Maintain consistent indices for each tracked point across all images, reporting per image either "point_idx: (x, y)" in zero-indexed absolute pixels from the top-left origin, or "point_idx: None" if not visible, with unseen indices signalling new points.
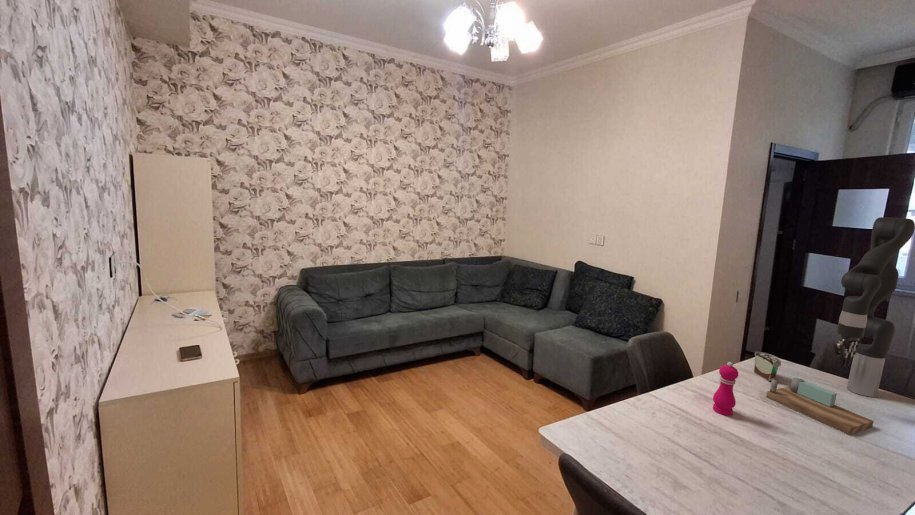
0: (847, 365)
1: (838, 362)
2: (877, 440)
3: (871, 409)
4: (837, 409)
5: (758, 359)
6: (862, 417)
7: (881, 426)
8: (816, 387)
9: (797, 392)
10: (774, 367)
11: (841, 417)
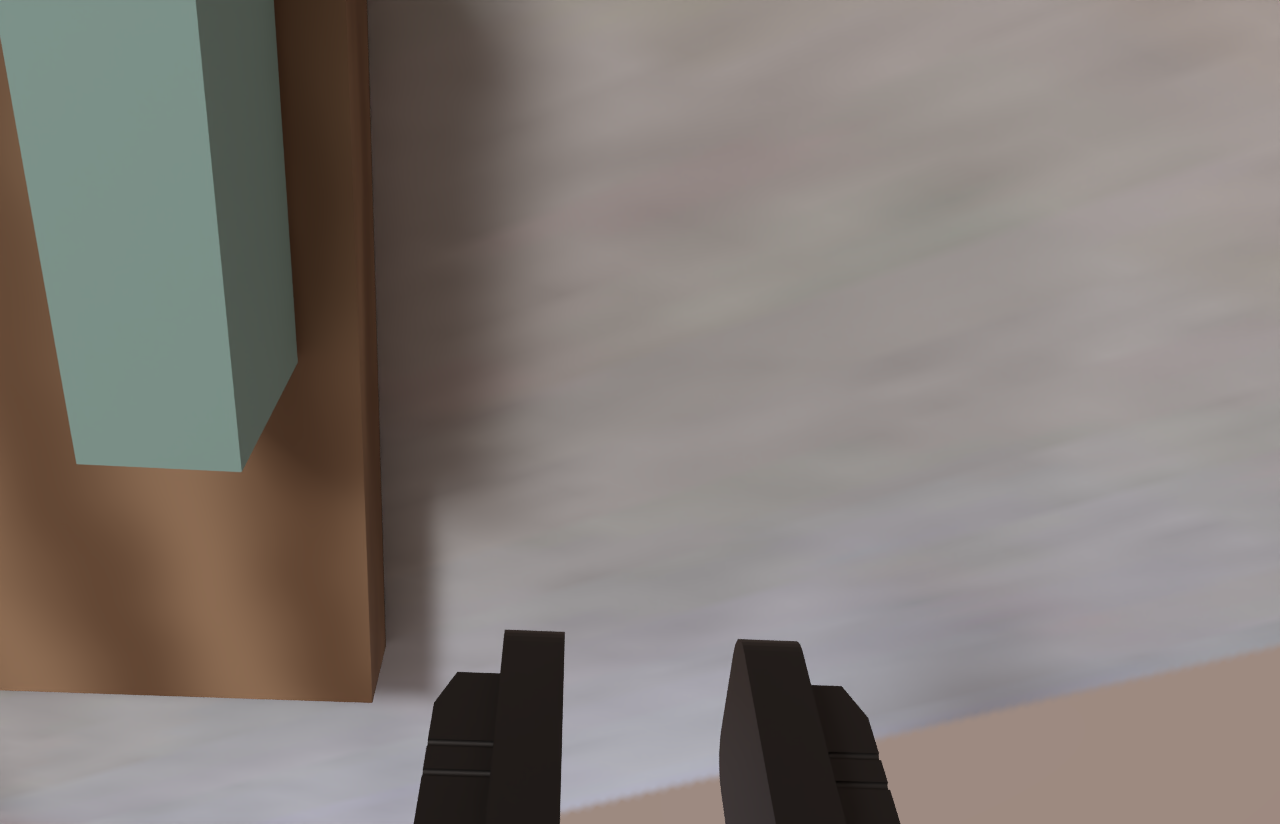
0: (720, 758)
1: (432, 726)
2: (109, 758)
3: (966, 472)
4: None
5: None
6: (332, 627)
7: None
8: (92, 197)
9: None
10: None
11: (16, 541)
